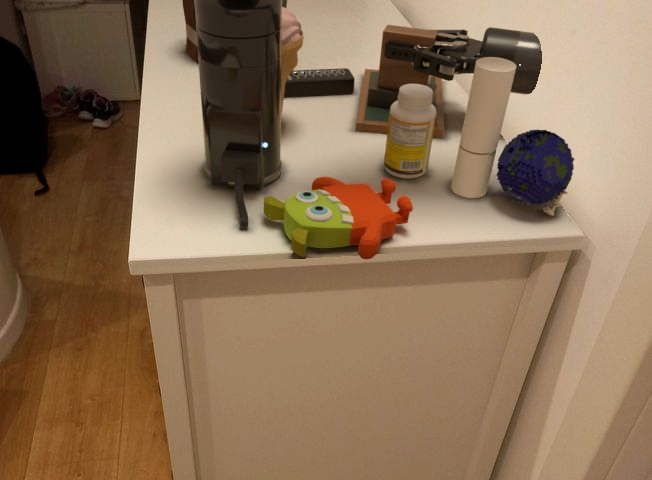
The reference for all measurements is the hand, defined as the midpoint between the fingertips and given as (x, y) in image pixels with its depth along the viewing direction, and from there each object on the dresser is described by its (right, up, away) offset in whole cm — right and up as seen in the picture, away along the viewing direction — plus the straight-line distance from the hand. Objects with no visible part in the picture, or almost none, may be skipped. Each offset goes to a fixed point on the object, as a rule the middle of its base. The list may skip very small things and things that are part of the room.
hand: (388, 44), depth 95 cm
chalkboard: (+3, -6, +7) cm, 10 cm away
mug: (-22, +7, +20) cm, 31 cm away
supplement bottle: (+1, -19, -7) cm, 21 cm away
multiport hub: (-10, -2, +11) cm, 15 cm away
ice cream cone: (-18, -11, +1) cm, 21 cm away
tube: (+8, -22, -10) cm, 26 cm away
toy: (-1, -25, -17) cm, 31 cm away
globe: (+13, -25, -15) cm, 32 cm away
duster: (+2, -6, +5) cm, 8 cm away
